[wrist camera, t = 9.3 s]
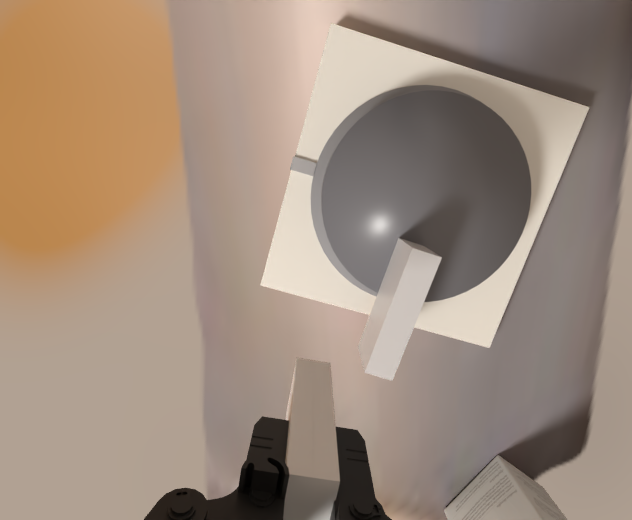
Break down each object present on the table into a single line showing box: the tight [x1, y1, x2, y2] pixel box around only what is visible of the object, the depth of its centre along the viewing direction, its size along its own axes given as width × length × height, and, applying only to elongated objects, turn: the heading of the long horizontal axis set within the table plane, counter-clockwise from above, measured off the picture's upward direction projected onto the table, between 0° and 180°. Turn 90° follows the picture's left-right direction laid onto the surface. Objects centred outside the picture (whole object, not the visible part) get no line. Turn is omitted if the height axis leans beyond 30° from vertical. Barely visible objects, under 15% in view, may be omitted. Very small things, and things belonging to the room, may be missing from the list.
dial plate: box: [261, 23, 589, 348], centre depth 30 cm, size 20×20×2 cm
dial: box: [321, 90, 531, 381], centre depth 27 cm, size 20×15×6 cm
